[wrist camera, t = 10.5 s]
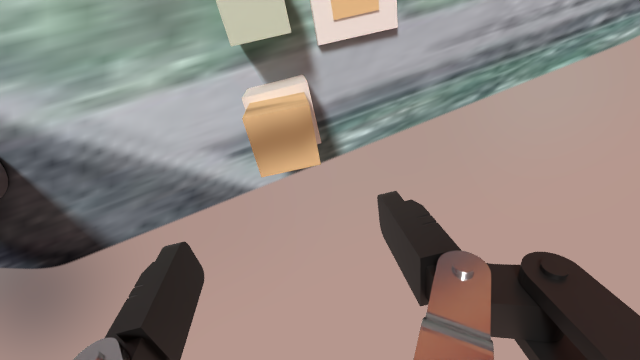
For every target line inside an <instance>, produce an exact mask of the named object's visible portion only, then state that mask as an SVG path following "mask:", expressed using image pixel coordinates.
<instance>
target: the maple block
mask: <svg viewBox="0 0 640 360" xmlns="http://www.w3.org/2000/svg"><path fill="white" fill-rule="evenodd" d="M242 119H243V122H244V125H245V128H246V132H247V135H248V138H249V141H250V144H251V147H252V150H253V153H254V156H255V159H256V162H257V165H258V168H259V171H260V174H261V177H265V176H270V175H274V174H279V173H284V172H288V171H293V170H298V169H302V168H307V167H311V166H316V165H320V164H321V163H320V158H319V153H318V148H317V143H316V137H315V132H314V127H313V122H312V116H311V111H310V106H309V103H308V100H307V98H306V96H305V93H304V92H301V93H296V94H292V95H287V96H282V97H277V98H272V99H267V100H263V101H258V102H253V103H249V105H248V107H247V109H246V111H245V114H244V116H243V118H242Z"/></svg>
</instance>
